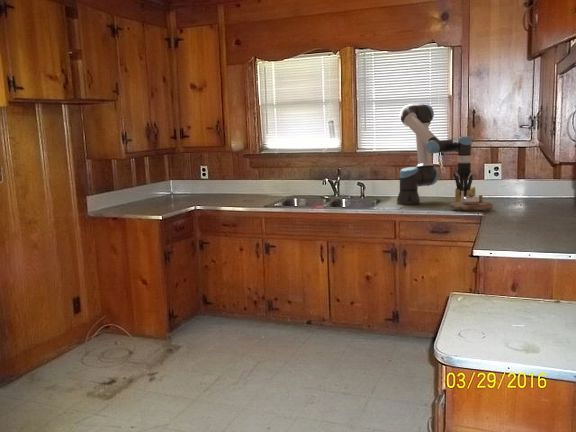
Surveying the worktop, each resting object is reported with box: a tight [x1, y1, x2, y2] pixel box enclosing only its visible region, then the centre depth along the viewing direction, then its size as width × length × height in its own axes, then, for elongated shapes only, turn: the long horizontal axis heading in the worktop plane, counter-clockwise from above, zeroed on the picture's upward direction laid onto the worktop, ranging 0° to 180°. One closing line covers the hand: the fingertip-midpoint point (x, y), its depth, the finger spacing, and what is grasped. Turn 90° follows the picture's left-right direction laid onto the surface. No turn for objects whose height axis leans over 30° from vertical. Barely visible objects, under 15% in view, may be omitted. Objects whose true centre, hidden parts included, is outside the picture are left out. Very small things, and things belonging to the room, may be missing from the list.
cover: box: [463, 194, 479, 206], centre depth 331 cm, size 9×9×6 cm
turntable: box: [450, 194, 494, 211], centre depth 331 cm, size 24×24×6 cm
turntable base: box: [458, 209, 485, 213], centre depth 332 cm, size 14×14×2 cm
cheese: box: [454, 186, 476, 202], centre depth 360 cm, size 10×11×10 cm
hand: (463, 201), depth 335 cm, fingers closed
